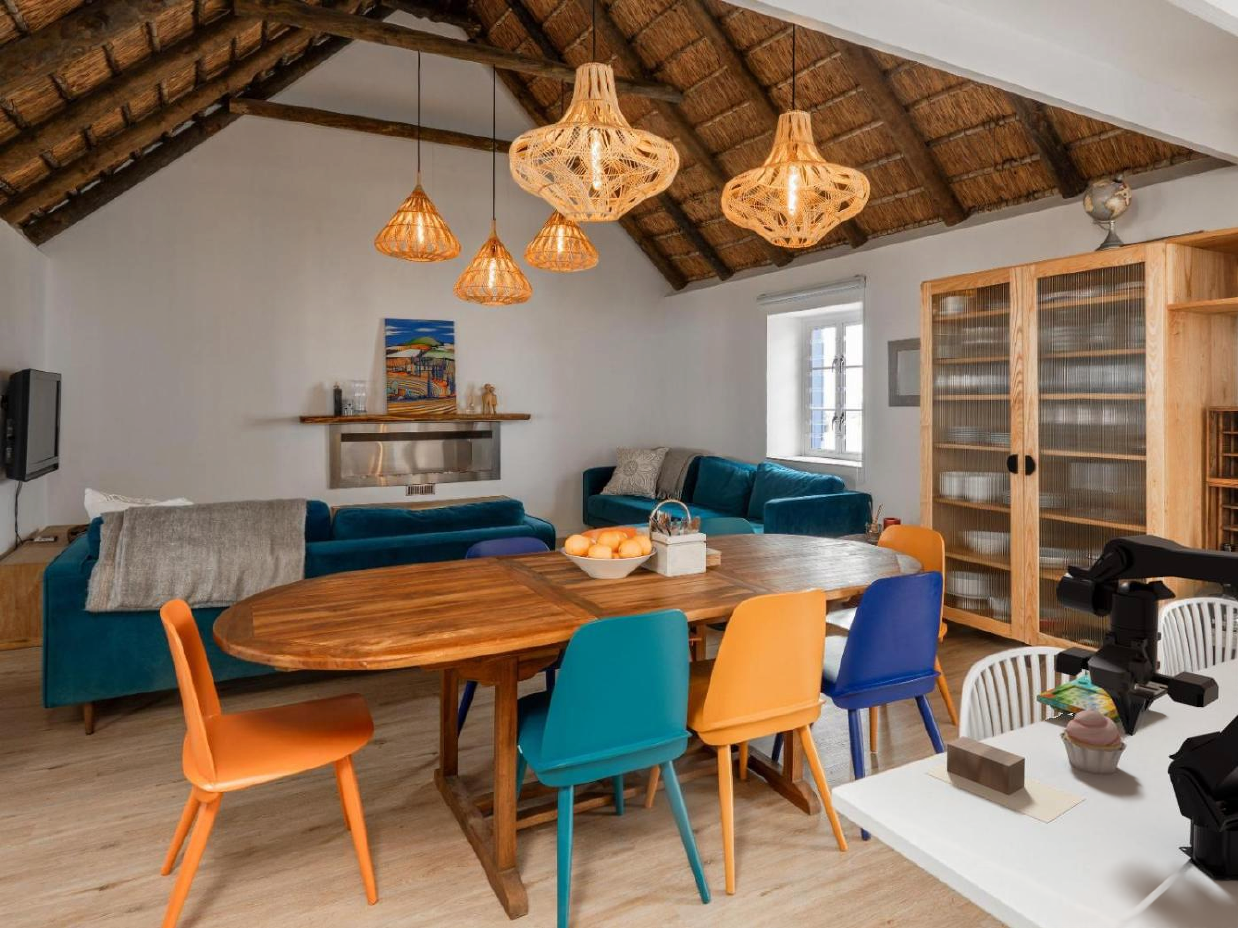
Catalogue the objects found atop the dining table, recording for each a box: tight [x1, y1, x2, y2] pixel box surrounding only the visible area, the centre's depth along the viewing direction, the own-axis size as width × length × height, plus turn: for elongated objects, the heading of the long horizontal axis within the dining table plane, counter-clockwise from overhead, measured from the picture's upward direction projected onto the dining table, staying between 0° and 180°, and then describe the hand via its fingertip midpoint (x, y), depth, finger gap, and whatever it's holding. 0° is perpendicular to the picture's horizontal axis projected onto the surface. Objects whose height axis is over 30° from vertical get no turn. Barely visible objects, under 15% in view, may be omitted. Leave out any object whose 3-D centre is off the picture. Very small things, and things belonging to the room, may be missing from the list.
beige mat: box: [925, 761, 1086, 824], centre depth 120 cm, size 19×11×1 cm, turn 35°
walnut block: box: [946, 736, 1026, 796], centre depth 122 cm, size 4×4×10 cm
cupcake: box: [1059, 707, 1128, 775], centre depth 126 cm, size 9×9×10 cm
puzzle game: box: [1036, 673, 1136, 724], centre depth 150 cm, size 12×5×20 cm
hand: (1130, 734), depth 111 cm, fingers closed
